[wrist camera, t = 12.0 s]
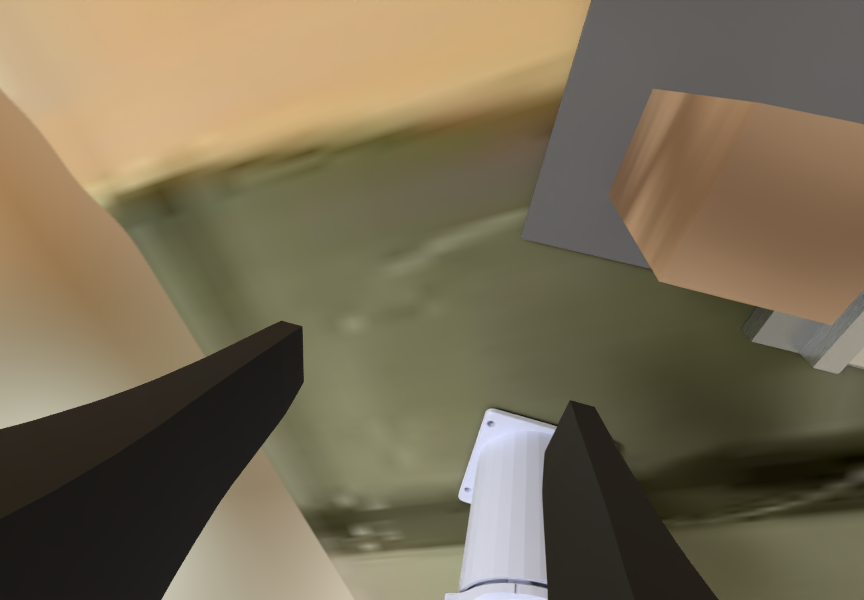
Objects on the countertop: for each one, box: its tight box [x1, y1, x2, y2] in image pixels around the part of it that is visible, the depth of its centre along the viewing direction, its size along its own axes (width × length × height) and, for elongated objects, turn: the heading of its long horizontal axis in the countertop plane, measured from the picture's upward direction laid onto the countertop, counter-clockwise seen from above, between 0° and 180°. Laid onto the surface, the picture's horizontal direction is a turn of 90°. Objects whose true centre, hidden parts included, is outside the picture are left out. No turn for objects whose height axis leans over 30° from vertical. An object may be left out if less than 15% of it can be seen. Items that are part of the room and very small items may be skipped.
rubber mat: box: [521, 0, 864, 269], centre depth 15 cm, size 10×10×1 cm
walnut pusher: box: [608, 89, 864, 325], centre depth 12 cm, size 4×4×8 cm
